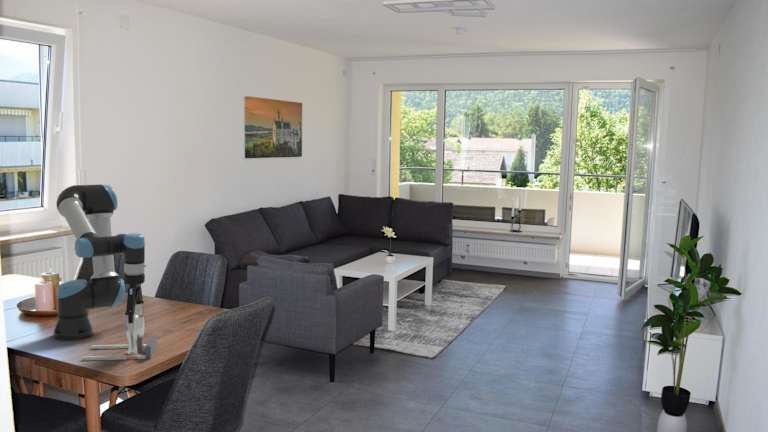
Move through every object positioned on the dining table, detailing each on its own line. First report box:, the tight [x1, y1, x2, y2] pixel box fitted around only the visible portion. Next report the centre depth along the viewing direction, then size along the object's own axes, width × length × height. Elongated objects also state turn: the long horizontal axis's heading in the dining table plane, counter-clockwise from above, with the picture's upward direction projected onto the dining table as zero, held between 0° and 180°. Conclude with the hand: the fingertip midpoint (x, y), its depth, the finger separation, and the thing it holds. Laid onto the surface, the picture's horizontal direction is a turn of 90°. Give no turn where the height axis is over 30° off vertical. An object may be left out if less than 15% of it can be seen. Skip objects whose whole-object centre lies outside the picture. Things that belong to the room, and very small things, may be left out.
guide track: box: [81, 334, 158, 362], centre depth 253 cm, size 25×14×5 cm, turn 101°
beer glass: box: [125, 314, 145, 355], centre depth 254 cm, size 7×7×15 cm
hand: (134, 325), depth 254 cm, fingers open, 13 cm apart
